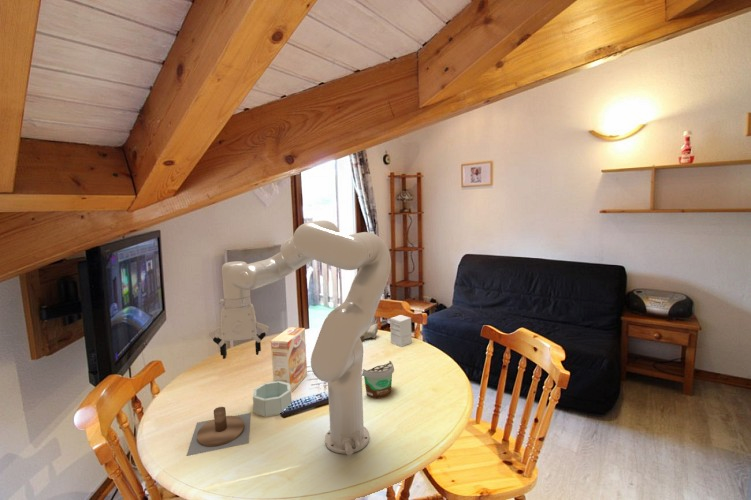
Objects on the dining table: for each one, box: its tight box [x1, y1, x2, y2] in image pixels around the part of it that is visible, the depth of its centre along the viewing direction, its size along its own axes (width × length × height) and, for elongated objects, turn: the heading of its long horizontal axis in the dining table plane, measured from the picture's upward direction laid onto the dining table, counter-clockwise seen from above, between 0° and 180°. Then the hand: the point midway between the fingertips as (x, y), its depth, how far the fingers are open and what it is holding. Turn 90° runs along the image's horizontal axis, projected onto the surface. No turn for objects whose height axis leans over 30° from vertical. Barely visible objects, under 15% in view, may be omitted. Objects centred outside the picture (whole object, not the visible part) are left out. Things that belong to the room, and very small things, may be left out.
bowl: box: [252, 381, 293, 418], centre depth 121 cm, size 12×12×6 cm
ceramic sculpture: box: [360, 323, 379, 341], centre depth 181 cm, size 11×9×15 cm
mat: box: [185, 412, 252, 457], centre depth 108 cm, size 16×16×1 cm
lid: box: [197, 406, 245, 447], centre depth 107 cm, size 13×13×7 cm
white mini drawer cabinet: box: [389, 314, 413, 348], centre depth 173 cm, size 7×7×13 cm
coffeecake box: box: [270, 326, 308, 393], centre depth 137 cm, size 15×7×20 cm, turn 167°
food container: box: [362, 360, 395, 399], centre depth 127 cm, size 12×6×10 cm, turn 123°
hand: (241, 355), depth 113 cm, fingers open, 9 cm apart
